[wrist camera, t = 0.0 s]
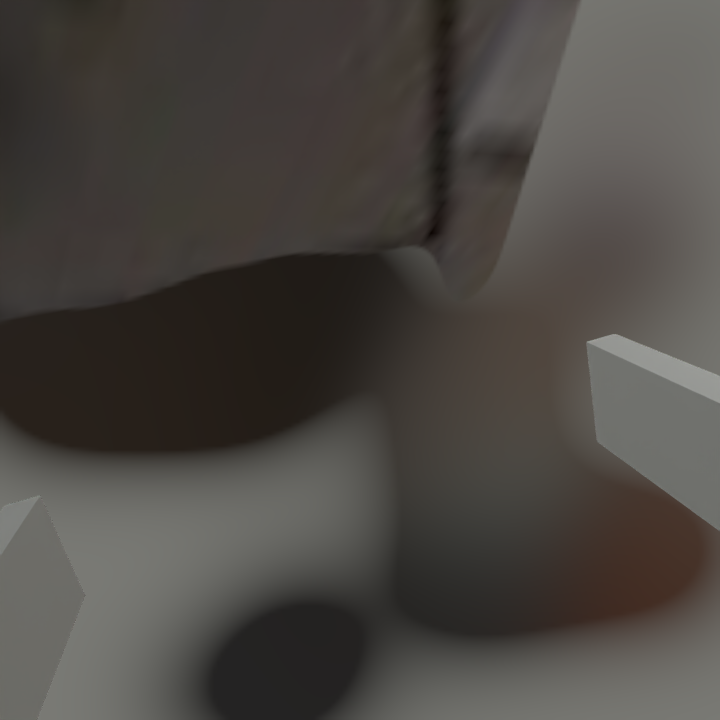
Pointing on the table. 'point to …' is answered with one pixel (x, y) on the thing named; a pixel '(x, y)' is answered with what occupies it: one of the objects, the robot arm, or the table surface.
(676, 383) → the robot arm
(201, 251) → the table surface
